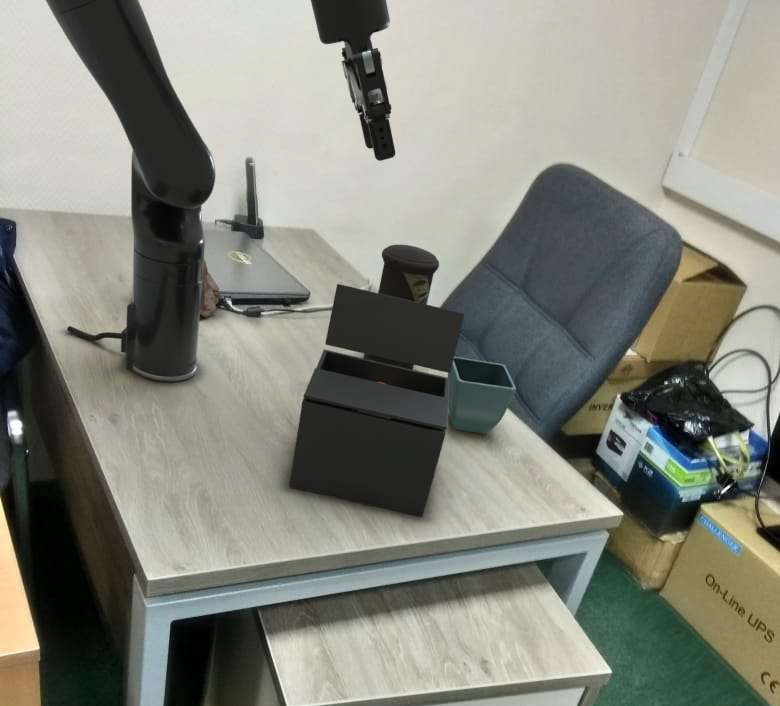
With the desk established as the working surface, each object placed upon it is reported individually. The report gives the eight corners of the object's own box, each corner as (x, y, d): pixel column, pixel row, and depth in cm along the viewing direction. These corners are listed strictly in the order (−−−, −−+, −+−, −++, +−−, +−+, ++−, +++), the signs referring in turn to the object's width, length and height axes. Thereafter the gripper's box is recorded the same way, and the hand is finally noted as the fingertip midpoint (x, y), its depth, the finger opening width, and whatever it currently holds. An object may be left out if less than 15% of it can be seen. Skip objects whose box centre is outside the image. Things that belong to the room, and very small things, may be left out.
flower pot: (436, 407, 126) (449, 354, 121) (489, 415, 128) (505, 363, 123) (443, 434, 119) (458, 380, 114) (499, 443, 121) (517, 389, 116)
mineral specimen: (180, 348, 136) (115, 292, 137) (232, 310, 142) (169, 257, 144) (184, 302, 126) (114, 243, 127) (240, 263, 132) (172, 207, 134)
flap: (337, 283, 104) (337, 283, 104) (324, 344, 105) (325, 344, 106) (464, 313, 104) (464, 313, 105) (450, 373, 106) (450, 373, 107)
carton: (288, 487, 99) (303, 395, 92) (310, 428, 113) (324, 343, 106) (422, 517, 100) (447, 427, 93) (428, 454, 113) (450, 372, 106)
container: (407, 385, 131) (436, 264, 120) (354, 370, 131) (378, 249, 120) (416, 366, 138) (445, 250, 127) (366, 352, 138) (390, 235, 127)
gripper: (305, -7, 87) (342, 151, 96) (313, -9, 75) (355, 172, 84) (372, -25, 87) (403, 135, 96) (390, -30, 75) (424, 153, 84)
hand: (380, 152), depth 90 cm, fingers open, 8 cm apart
